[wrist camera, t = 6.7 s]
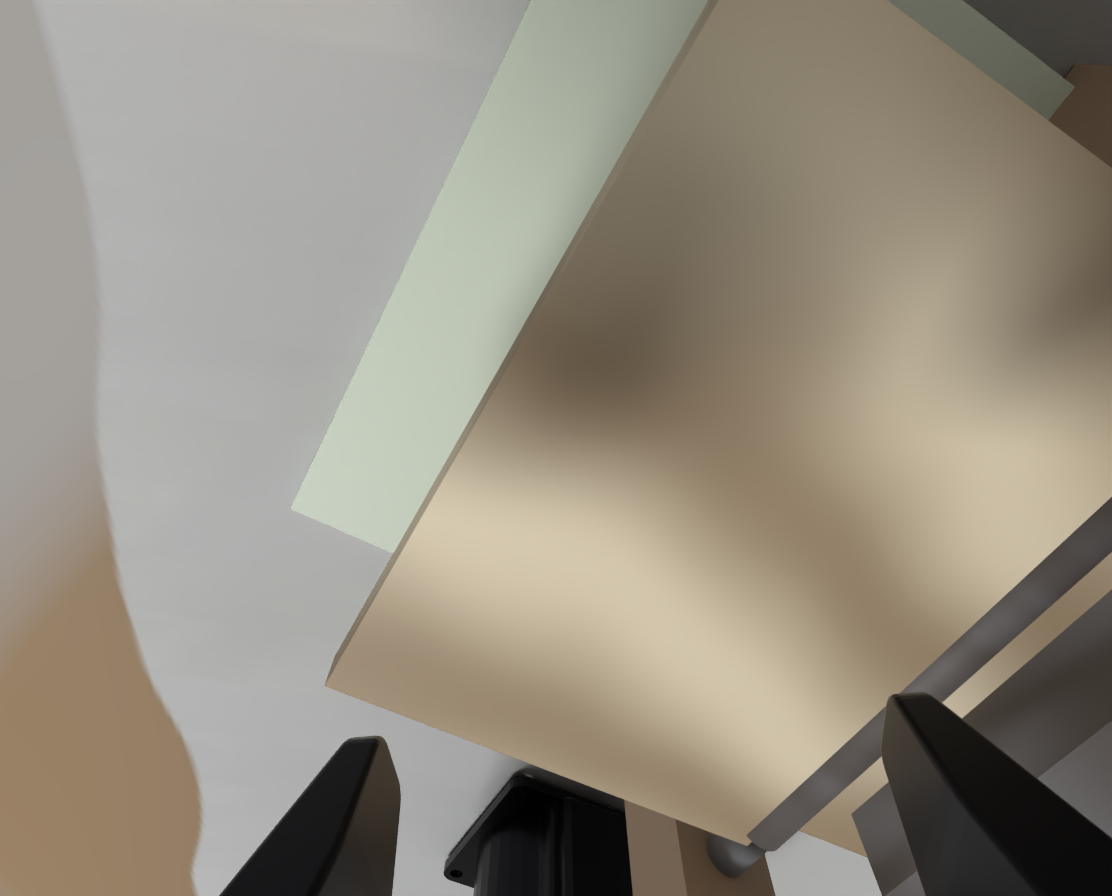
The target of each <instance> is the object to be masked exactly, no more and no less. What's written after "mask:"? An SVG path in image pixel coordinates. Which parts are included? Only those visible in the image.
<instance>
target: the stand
mask: <svg viewBox="0 0 1112 896" xmlns="http://www.w3.org/2000/svg"><path fill="white" fill-rule="evenodd" d="M887 1H889V2H890V3H891V4H893V5H894V6H895V7H897V8H898V9H899V10H901V11H902V12H903V13H905V14H906V15H907V16H909V17H910V18H911V19H913V20H914V21H915V22H917V23H918V24H919V25H921V26H922V27H923V28H925V29H926V30H927V31H929V32H930V33H931V34H933V35H934V36H935V37H937V38H938V39H939V40H941V41H942V42H943V43H945V44H946V45H948V46H949V47H950V48H952V49H953V50H954V51H956V52H957V53H958V54H960V55H961V56H962V57H964V58H965V59H966V60H968V61H969V62H970V63H972V64H973V65H974V66H976V67H977V68H978V69H980V70H981V71H982V72H984V73H985V74H986V75H988V76H989V77H990V78H992V79H993V80H994V81H996V82H997V83H998V84H1000V85H1001V86H1003V87H1004V88H1005V89H1007V90H1008V91H1009V92H1011V93H1012V94H1013V95H1015V96H1016V97H1017V98H1019V99H1020V100H1021V101H1023V102H1024V103H1025V104H1027V105H1028V106H1029V107H1031V108H1032V109H1033V110H1035V111H1036V112H1037V113H1039V114H1040V115H1041V116H1043V117H1044V118H1045V119H1047V120H1048V121H1049V122H1051V123H1052V124H1053V125H1055V126H1056V127H1057V128H1059V129H1060V130H1062V131H1063V132H1064V133H1066V134H1067V135H1068V136H1070V137H1071V138H1072V139H1074V140H1075V141H1076V142H1078V143H1079V144H1080V145H1082V146H1083V147H1084V148H1086V149H1087V150H1088V151H1090V152H1091V153H1092V154H1094V155H1095V156H1096V157H1098V158H1099V159H1100V160H1102V161H1103V162H1104V163H1106V164H1107V165H1108V166H1110V167H1111V168H1112V65H1093V64H1076V65H1075V66H1074V67H1073V68H1072V70H1071V71H1070V72H1069V73H1068V75H1067V76H1066V77H1065V78H1063V77H1062V76H1061V75H1059V74H1058V73H1057V72H1055V71H1054V70H1053V69H1052V68H1050V67H1049V66H1048V65H1046V64H1045V63H1044V62H1042V61H1041V60H1040V59H1039V58H1037V57H1036V56H1035V55H1033V54H1032V53H1031V52H1029V51H1028V50H1027V49H1026V48H1024V47H1023V46H1022V45H1020V44H1019V43H1018V42H1016V41H1015V40H1014V39H1013V38H1011V37H1010V36H1009V35H1007V34H1006V33H1005V32H1003V31H1002V30H1001V29H1000V28H998V27H997V26H996V25H994V24H993V23H992V22H990V21H989V20H988V19H987V18H985V17H984V16H983V15H981V14H980V13H979V12H977V11H976V10H975V9H974V8H972V7H971V6H970V5H968V4H967V3H966V2H964V1H963V0H887ZM707 2H708V0H531V1H530V3H529V5H528V7H527V9H526V11H525V14H524V16H523V18H522V20H521V22H520V24H519V26H518V28H517V31H516V33H515V35H514V37H513V39H512V41H511V43H510V45H509V47H508V50H507V52H506V54H505V56H504V58H503V60H502V62H501V64H500V66H499V69H498V71H497V73H496V75H495V77H494V79H493V81H492V83H491V86H490V88H489V90H488V92H487V94H486V96H485V98H484V100H483V102H482V105H481V107H480V109H479V111H478V113H477V115H476V117H475V119H474V121H473V124H472V126H471V128H470V130H469V132H468V134H467V136H466V138H465V141H464V143H463V145H462V147H461V149H460V151H459V153H458V155H457V157H456V160H455V162H454V164H453V166H452V168H451V170H450V172H449V174H448V176H447V179H446V181H445V183H444V185H443V187H442V189H441V191H440V193H439V195H438V198H437V200H436V202H435V204H434V206H433V208H432V210H431V212H430V215H429V217H428V219H427V221H426V223H425V225H424V227H423V229H422V231H421V234H420V236H419V238H418V240H417V242H416V244H415V246H414V248H413V250H412V253H411V255H410V257H409V259H408V261H407V263H406V265H405V267H404V270H403V272H402V274H401V276H400V278H399V280H398V282H397V284H396V286H395V289H394V291H393V293H392V295H391V297H390V299H389V301H388V303H387V305H386V308H385V310H384V312H383V314H382V316H381V318H380V320H379V322H378V325H377V327H376V329H375V331H374V333H373V335H372V337H371V339H370V341H369V344H368V346H367V348H366V350H365V352H364V354H363V356H362V358H361V360H360V363H359V365H358V367H357V369H356V371H355V373H354V375H353V377H352V379H351V382H350V384H349V386H348V388H347V390H346V392H345V394H344V396H343V399H342V401H341V403H340V405H339V407H338V409H337V411H336V413H335V415H334V418H333V420H332V422H331V424H330V426H329V428H328V430H327V432H326V434H325V437H324V439H323V441H322V443H321V445H320V447H319V449H318V451H317V454H316V456H315V458H314V460H313V462H312V464H311V466H310V468H309V470H308V473H307V475H306V477H305V479H304V481H303V483H302V485H301V487H300V489H299V492H298V494H297V496H296V498H295V500H294V502H293V504H292V506H291V509H292V510H294V511H296V512H298V513H301V514H303V515H305V516H308V517H310V518H312V519H315V520H317V521H319V522H322V523H324V524H326V525H328V526H331V527H333V528H335V529H338V530H340V531H342V532H345V533H347V534H349V535H352V536H354V537H356V538H358V539H361V540H363V541H365V542H368V543H370V544H372V545H375V546H377V547H379V548H382V549H384V550H386V551H389V552H391V553H394V552H395V550H396V548H397V546H398V545H399V543H400V541H401V539H402V538H403V536H404V534H405V532H406V531H407V529H408V527H409V525H410V524H411V522H412V520H413V518H414V517H415V515H416V513H417V511H418V510H419V508H420V506H421V504H422V503H423V501H424V499H425V497H426V495H427V494H428V492H429V490H430V488H431V487H432V485H433V483H434V481H435V480H436V478H437V476H438V474H439V473H440V471H441V469H442V467H443V466H444V464H445V462H446V460H447V459H448V457H449V455H450V453H451V452H452V450H453V448H454V446H455V445H456V443H457V441H458V439H459V438H460V436H461V434H462V432H463V430H464V429H465V427H466V425H467V423H468V422H469V420H470V418H471V416H472V415H473V413H474V411H475V409H476V408H477V406H478V404H479V402H480V401H481V399H482V397H483V395H484V394H485V392H486V390H487V388H488V387H489V385H490V383H491V381H492V380H493V378H494V376H495V374H496V373H497V371H498V369H499V367H500V366H501V364H502V362H503V360H504V358H505V357H506V355H507V353H508V351H509V350H510V348H511V346H512V344H513V343H514V341H515V339H516V337H517V336H518V334H519V332H520V330H521V329H522V327H523V325H524V323H525V322H526V320H527V318H528V316H529V315H530V313H531V311H532V309H533V308H534V306H535V304H536V302H537V301H538V299H539V297H540V295H541V293H542V292H543V290H544V288H545V286H546V285H547V283H548V281H549V279H550V278H551V276H552V274H553V272H554V271H555V269H556V267H557V265H558V264H559V262H560V260H561V258H562V257H563V255H564V253H565V251H566V250H567V248H568V246H569V244H570V243H571V241H572V239H573V237H574V236H575V234H576V232H577V230H578V229H579V227H580V225H581V223H582V221H583V220H584V218H585V216H586V214H587V213H588V211H589V209H590V207H591V206H592V204H593V202H594V200H595V199H596V197H597V195H598V193H599V192H600V190H601V188H602V186H603V185H604V183H605V181H606V179H607V178H608V176H609V174H610V172H611V171H612V169H613V167H614V165H615V164H616V162H617V160H618V158H619V156H620V155H621V153H622V151H623V149H624V148H625V146H626V144H627V142H628V141H629V139H630V137H631V135H632V134H633V132H634V130H635V128H636V127H637V125H638V123H639V121H640V120H641V118H642V116H643V114H644V113H645V111H646V109H647V107H648V106H649V104H650V102H651V100H652V99H653V97H654V95H655V93H656V91H657V90H658V88H659V86H660V84H661V83H662V81H663V79H664V77H665V76H666V74H667V72H668V70H669V69H670V67H671V65H672V63H673V62H674V60H675V58H676V56H677V55H678V53H679V51H680V49H681V48H682V46H683V44H684V42H685V41H686V39H687V37H688V35H689V34H690V32H691V30H692V28H693V27H694V25H695V23H696V21H697V19H698V18H699V16H700V14H701V12H702V11H703V9H704V7H705V5H706V4H707ZM624 803H625V814H626V825H627V836H628V847H629V857H630V868H631V879H632V890H633V896H775V893H774V889H773V885H772V881H771V877H770V873H769V869H768V865H767V862H766V858H765V853H766V850H763V849H761V848H760V847H758V846H757V845H755V844H754V843H753V842H751V843H750V844H749V845H748V846H745V845H743V844H740V843H738V842H735V841H732V840H730V839H727V838H724V837H722V836H719V835H716V834H714V833H711V832H709V831H706V830H703V829H701V828H698V827H695V826H693V825H690V824H687V823H685V822H682V821H679V820H677V819H674V818H672V817H669V816H666V815H664V814H661V813H658V812H656V811H653V810H650V809H648V808H645V807H643V806H640V805H637V804H635V803H632V802H629V801H627V800H624Z"/></svg>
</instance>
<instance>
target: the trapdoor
mask: <svg viewBox="0 0 1112 896" xmlns="http://www.w3.org/2000/svg"><path fill="white" fill-rule="evenodd" d="M325 686H326V687H329V688H331V689H334V690H337V691H339V692H342V693H344V694H347V695H350V696H352V697H355V698H358V699H360V700H363V701H366V702H368V703H371V704H373V705H376V706H379V707H381V708H384V709H387V710H389V711H392V712H395V713H397V714H400V715H403V716H405V717H408V718H410V719H413V720H416V721H418V722H421V723H424V724H426V725H429V726H432V727H434V728H437V729H439V730H442V731H445V732H447V733H450V734H453V735H455V736H458V737H461V738H463V739H466V740H468V741H471V742H474V743H476V744H479V745H482V746H484V747H487V748H490V749H492V750H495V751H497V752H500V753H503V754H505V755H508V756H511V757H513V758H516V759H519V760H521V761H524V762H526V763H529V764H532V765H534V766H537V767H540V768H542V769H545V770H548V771H550V772H553V773H556V774H558V775H561V776H563V777H566V778H569V779H571V780H574V781H577V782H579V783H582V784H585V785H587V786H590V787H592V788H595V789H598V790H600V791H603V792H606V793H608V794H611V795H614V796H616V797H619V798H621V799H624V800H627V801H629V802H632V803H635V804H637V805H640V806H643V807H645V808H648V809H650V810H653V811H656V812H658V813H661V814H664V815H666V816H669V817H672V818H674V819H677V820H679V821H682V822H685V823H687V824H690V825H693V826H695V827H698V828H701V829H703V830H706V831H709V832H711V833H714V834H716V835H719V836H722V837H724V838H727V839H730V840H732V841H735V842H738V843H740V844H743V845H745V846H748V845H749V844H750V843H751V842H753V843H754V844H755V845H757V846H758V847H760V848H761V849H763V850H766V851H775V850H777V849H778V848H779V847H780V846H781V845H783V844H784V843H785V842H786V841H787V840H788V839H789V838H790V837H792V836H793V835H794V834H795V833H796V832H797V831H798V830H799V831H801V832H804V833H806V834H809V835H811V836H814V837H817V838H819V839H822V840H824V841H827V842H829V843H832V844H834V845H837V846H839V847H842V848H844V849H847V850H850V851H852V852H855V853H857V854H860V855H862V856H865V857H867V858H868V859H869V862H870V865H871V867H872V870H873V873H874V875H875V878H876V880H877V883H878V886H879V888H880V891H881V893H882V896H925V893H924V890H923V887H922V884H921V881H920V878H919V875H918V872H917V868H916V865H915V862H914V859H913V856H912V853H911V850H910V847H909V844H908V840H907V837H906V834H905V831H904V828H903V825H902V822H901V819H900V815H899V812H898V809H897V806H896V803H895V800H894V797H893V794H892V791H891V787H890V784H889V781H888V778H887V775H886V772H885V769H884V765H883V761H882V756H881V738H882V731H883V723H884V716H885V708H886V703H887V700H888V698H889V697H890V696H891V695H893V694H898V693H911V692H926V693H929V694H931V695H933V696H934V697H935V698H937V699H938V700H939V701H941V702H942V703H943V704H944V705H946V706H947V707H948V708H949V709H951V710H952V711H953V712H954V713H956V714H957V715H958V716H959V717H961V718H962V719H963V720H964V721H966V722H967V723H968V724H969V725H971V726H972V727H973V728H974V729H976V730H977V731H978V732H979V733H981V734H982V735H983V736H985V737H986V738H987V739H988V740H990V741H991V742H992V743H993V744H995V745H996V746H997V747H998V748H1000V749H1001V750H1002V751H1003V752H1005V753H1006V754H1007V755H1008V756H1010V757H1011V758H1012V759H1013V760H1015V761H1016V762H1017V763H1018V764H1020V765H1021V766H1022V767H1023V768H1025V769H1026V770H1027V771H1028V772H1030V773H1031V774H1032V775H1034V776H1035V777H1036V778H1037V779H1039V780H1040V781H1041V782H1042V783H1044V784H1045V785H1046V786H1047V787H1049V788H1050V789H1051V790H1052V791H1054V792H1055V793H1056V794H1057V795H1059V796H1060V797H1061V798H1062V799H1064V800H1065V801H1066V802H1067V803H1069V804H1070V805H1071V806H1072V807H1074V808H1075V809H1076V810H1078V811H1079V812H1080V813H1081V814H1083V815H1084V816H1085V817H1086V818H1088V819H1089V820H1090V821H1091V822H1093V823H1094V824H1095V825H1096V826H1098V827H1099V828H1100V829H1101V830H1103V831H1104V832H1105V833H1106V834H1108V835H1109V836H1110V837H1111V838H1112V168H1111V167H1110V166H1108V165H1107V164H1106V163H1104V162H1103V161H1102V160H1100V159H1099V158H1098V157H1096V156H1095V155H1094V154H1092V153H1091V152H1090V151H1088V150H1087V149H1086V148H1084V147H1083V146H1082V145H1080V144H1079V143H1078V142H1076V141H1075V140H1074V139H1072V138H1071V137H1070V136H1068V135H1067V134H1066V133H1064V132H1063V131H1062V130H1060V129H1059V128H1057V127H1056V126H1055V125H1053V124H1052V123H1051V122H1049V121H1048V120H1047V119H1045V118H1044V117H1043V116H1041V115H1040V114H1039V113H1037V112H1036V111H1035V110H1033V109H1032V108H1031V107H1029V106H1028V105H1027V104H1025V103H1024V102H1023V101H1021V100H1020V99H1019V98H1017V97H1016V96H1015V95H1013V94H1012V93H1011V92H1009V91H1008V90H1007V89H1005V88H1004V87H1003V86H1001V85H1000V84H998V83H997V82H996V81H994V80H993V79H992V78H990V77H989V76H988V75H986V74H985V73H984V72H982V71H981V70H980V69H978V68H977V67H976V66H974V65H973V64H972V63H970V62H969V61H968V60H966V59H965V58H964V57H962V56H961V55H960V54H958V53H957V52H956V51H954V50H953V49H952V48H950V47H949V46H948V45H946V44H945V43H943V42H942V41H941V40H939V39H938V38H937V37H935V36H934V35H933V34H931V33H930V32H929V31H927V30H926V29H925V28H923V27H922V26H921V25H919V24H918V23H917V22H915V21H914V20H913V19H911V18H910V17H909V16H907V15H906V14H905V13H903V12H902V11H901V10H899V9H898V8H897V7H895V6H894V5H893V4H891V3H890V2H889V1H887V0H708V2H707V4H706V5H705V7H704V9H703V11H702V12H701V14H700V16H699V18H698V19H697V21H696V23H695V25H694V27H693V28H692V30H691V32H690V34H689V35H688V37H687V39H686V41H685V42H684V44H683V46H682V48H681V49H680V51H679V53H678V55H677V56H676V58H675V60H674V62H673V63H672V65H671V67H670V69H669V70H668V72H667V74H666V76H665V77H664V79H663V81H662V83H661V84H660V86H659V88H658V90H657V91H656V93H655V95H654V97H653V99H652V100H651V102H650V104H649V106H648V107H647V109H646V111H645V113H644V114H643V116H642V118H641V120H640V121H639V123H638V125H637V127H636V128H635V130H634V132H633V134H632V135H631V137H630V139H629V141H628V142H627V144H626V146H625V148H624V149H623V151H622V153H621V155H620V156H619V158H618V160H617V162H616V164H615V165H614V167H613V169H612V171H611V172H610V174H609V176H608V178H607V179H606V181H605V183H604V185H603V186H602V188H601V190H600V192H599V193H598V195H597V197H596V199H595V200H594V202H593V204H592V206H591V207H590V209H589V211H588V213H587V214H586V216H585V218H584V220H583V221H582V223H581V225H580V227H579V229H578V230H577V232H576V234H575V236H574V237H573V239H572V241H571V243H570V244H569V246H568V248H567V250H566V251H565V253H564V255H563V257H562V258H561V260H560V262H559V264H558V265H557V267H556V269H555V271H554V272H553V274H552V276H551V278H550V279H549V281H548V283H547V285H546V286H545V288H544V290H543V292H542V293H541V295H540V297H539V299H538V301H537V302H536V304H535V306H534V308H533V309H532V311H531V313H530V315H529V316H528V318H527V320H526V322H525V323H524V325H523V327H522V329H521V330H520V332H519V334H518V336H517V337H516V339H515V341H514V343H513V344H512V346H511V348H510V350H509V351H508V353H507V355H506V357H505V358H504V360H503V362H502V364H501V366H500V367H499V369H498V371H497V373H496V374H495V376H494V378H493V380H492V381H491V383H490V385H489V387H488V388H487V390H486V392H485V394H484V395H483V397H482V399H481V401H480V402H479V404H478V406H477V408H476V409H475V411H474V413H473V415H472V416H471V418H470V420H469V422H468V423H467V425H466V427H465V429H464V430H463V432H462V434H461V436H460V438H459V439H458V441H457V443H456V445H455V446H454V448H453V450H452V452H451V453H450V455H449V457H448V459H447V460H446V462H445V464H444V466H443V467H442V469H441V471H440V473H439V474H438V476H437V478H436V480H435V481H434V483H433V485H432V487H431V488H430V490H429V492H428V494H427V495H426V497H425V499H424V501H423V503H422V504H421V506H420V508H419V510H418V511H417V513H416V515H415V517H414V518H413V520H412V522H411V524H410V525H409V527H408V529H407V531H406V532H405V534H404V536H403V538H402V539H401V541H400V543H399V545H398V546H397V548H396V550H395V552H394V553H393V555H392V557H391V559H390V560H389V562H388V564H387V566H386V567H385V569H384V571H383V573H382V575H381V576H380V578H379V580H378V582H377V583H376V585H375V587H374V589H373V590H372V592H371V594H370V596H369V597H368V599H367V601H366V603H365V604H364V606H363V608H362V610H361V611H360V613H359V615H358V617H357V618H356V620H355V622H354V624H353V625H352V627H351V629H350V631H349V632H348V634H347V636H346V638H345V640H344V641H343V643H342V645H341V647H340V648H339V650H338V652H337V654H336V655H335V658H334V661H333V663H332V666H331V669H330V672H329V675H328V677H327V680H326V683H325Z"/></svg>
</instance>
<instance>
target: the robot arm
mask: <svg viewBox="0 0 1112 896" xmlns="http://www.w3.org/2000/svg"><path fill="white" fill-rule="evenodd" d="M881 756H882V761H883V765H884V769H885V772H886V775H887V778H888V781H889V784H890V787H891V791H892V794H893V797H894V800H895V803H896V806H897V809H898V812H899V815H900V819H901V822H902V825H903V828H904V831H905V834H906V837H907V840H908V844H909V847H910V850H911V853H912V856H913V859H914V862H915V865H916V868H917V872H918V875H919V878H920V881H921V884H922V887H923V890H924V893H925V896H1112V838H1111V837H1110V836H1109V835H1108V834H1106V833H1105V832H1104V831H1103V830H1101V829H1100V828H1099V827H1098V826H1096V825H1095V824H1094V823H1093V822H1091V821H1090V820H1089V819H1088V818H1086V817H1085V816H1084V815H1083V814H1081V813H1080V812H1079V811H1078V810H1076V809H1075V808H1074V807H1072V806H1071V805H1070V804H1069V803H1067V802H1066V801H1065V800H1064V799H1062V798H1061V797H1060V796H1059V795H1057V794H1056V793H1055V792H1054V791H1052V790H1051V789H1050V788H1049V787H1047V786H1046V785H1045V784H1044V783H1042V782H1041V781H1040V780H1039V779H1037V778H1036V777H1035V776H1034V775H1032V774H1031V773H1030V772H1028V771H1027V770H1026V769H1025V768H1023V767H1022V766H1021V765H1020V764H1018V763H1017V762H1016V761H1015V760H1013V759H1012V758H1011V757H1010V756H1008V755H1007V754H1006V753H1005V752H1003V751H1002V750H1001V749H1000V748H998V747H997V746H996V745H995V744H993V743H992V742H991V741H990V740H988V739H987V738H986V737H985V736H983V735H982V734H981V733H979V732H978V731H977V730H976V729H974V728H973V727H972V726H971V725H969V724H968V723H967V722H966V721H964V720H963V719H962V718H961V717H959V716H958V715H957V714H956V713H954V712H953V711H952V710H951V709H949V708H948V707H947V706H946V705H944V704H943V703H942V702H941V701H939V700H938V699H937V698H935V697H934V696H933V695H931V694H929V693H926V692H911V693H898V694H893V695H891V696H890V697H889V698H888V700H887V703H886V708H885V716H884V723H883V731H882V738H881ZM400 801H401V794H400V784H399V780H398V777H397V774H396V771H395V767H394V764H393V761H392V758H391V755H390V752H389V749H388V746H387V743H386V741H385V740H384V738H383V737H381V736H367V737H354V738H350V739H348V740H347V741H345V742H344V743H343V744H342V745H341V746H340V748H339V749H338V750H337V751H336V752H335V754H334V755H333V756H332V757H331V759H330V760H329V761H328V762H327V764H326V765H325V766H324V767H323V768H322V770H321V771H320V772H319V773H318V775H317V776H316V777H315V778H314V780H313V781H312V782H311V783H310V784H309V786H308V787H307V788H306V789H305V791H304V792H303V793H302V794H301V796H300V797H299V798H298V799H297V800H296V802H295V803H294V804H293V805H292V807H291V808H290V809H289V810H288V812H287V813H286V814H285V815H284V816H283V818H282V819H281V820H280V821H279V823H278V824H277V825H276V826H275V828H274V829H273V830H272V831H271V833H270V834H269V835H268V836H267V837H266V839H265V840H264V841H263V842H262V844H261V845H260V846H259V847H258V849H257V850H256V851H255V852H254V853H253V855H252V856H251V857H250V858H249V860H248V861H247V862H246V863H245V865H244V866H243V867H242V868H241V869H240V871H239V872H238V873H237V874H236V876H235V877H234V878H233V879H232V881H231V882H230V883H229V884H228V885H227V887H226V888H225V889H224V890H223V892H222V893H221V894H220V895H219V896H392V888H393V877H394V867H395V856H396V845H397V835H398V824H399V813H400ZM444 876H445V877H446V878H447V879H449V880H451V881H454V882H457V883H460V884H463V885H466V886H469V887H472V888H474V896H633V890H632V879H631V868H630V857H629V847H628V836H627V825H626V814H625V813H623V812H620V811H617V810H615V809H612V808H609V807H607V806H604V805H601V804H599V803H596V802H593V801H591V800H588V799H585V798H583V797H580V796H577V795H575V794H572V793H569V792H567V791H564V790H561V789H559V788H556V787H553V786H551V785H548V784H545V783H542V782H540V781H537V780H534V779H532V778H529V777H525V776H518V777H515V778H513V779H511V780H510V781H509V783H508V784H507V785H506V786H505V788H504V789H503V790H502V791H501V793H500V794H499V795H498V796H497V798H496V799H495V800H494V801H493V803H492V804H491V805H490V806H489V808H488V809H487V810H486V811H485V813H484V814H483V815H482V816H481V818H480V819H479V820H478V821H477V823H476V824H475V825H474V826H473V828H472V829H471V830H470V831H469V833H468V834H467V835H466V836H465V838H464V839H463V840H462V841H461V843H460V844H459V845H458V846H457V848H456V849H455V850H454V851H453V852H452V854H451V855H450V856H449V857H448V859H447V860H446V862H445V867H444Z"/></svg>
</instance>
